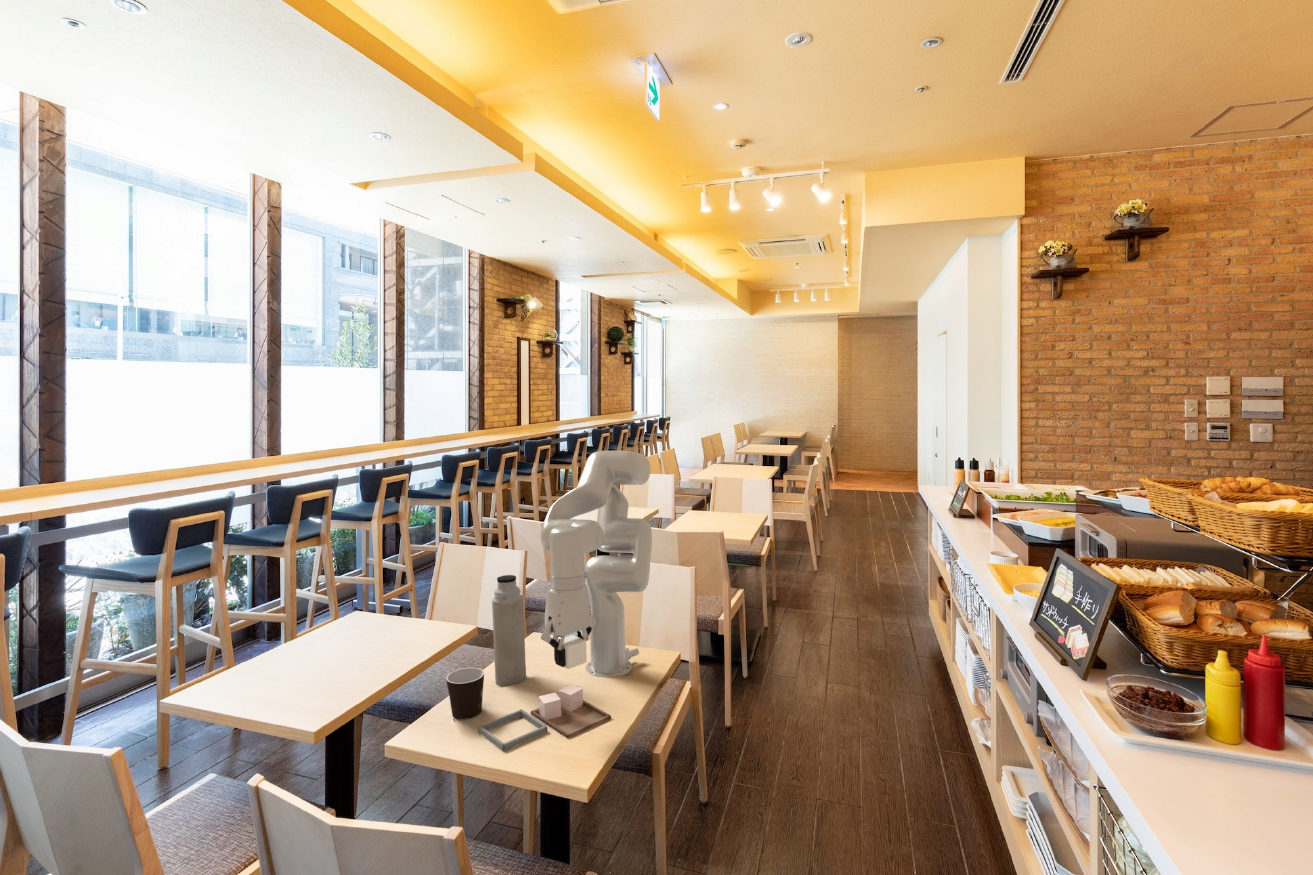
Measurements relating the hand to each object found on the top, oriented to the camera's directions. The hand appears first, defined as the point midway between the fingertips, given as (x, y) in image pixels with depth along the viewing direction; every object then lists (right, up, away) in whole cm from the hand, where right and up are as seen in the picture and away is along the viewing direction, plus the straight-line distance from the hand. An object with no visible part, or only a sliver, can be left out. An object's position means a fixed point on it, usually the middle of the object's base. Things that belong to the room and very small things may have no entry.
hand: (570, 660), depth 143 cm
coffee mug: (-25, -16, +9) cm, 31 cm away
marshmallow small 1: (-1, -14, +9) cm, 17 cm away
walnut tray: (-1, -15, +4) cm, 16 cm away
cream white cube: (0, 0, 0) cm, 0 cm away
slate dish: (-13, -16, -2) cm, 20 cm away
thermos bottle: (-19, -15, +26) cm, 36 cm away
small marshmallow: (-5, -14, +5) cm, 16 cm away
